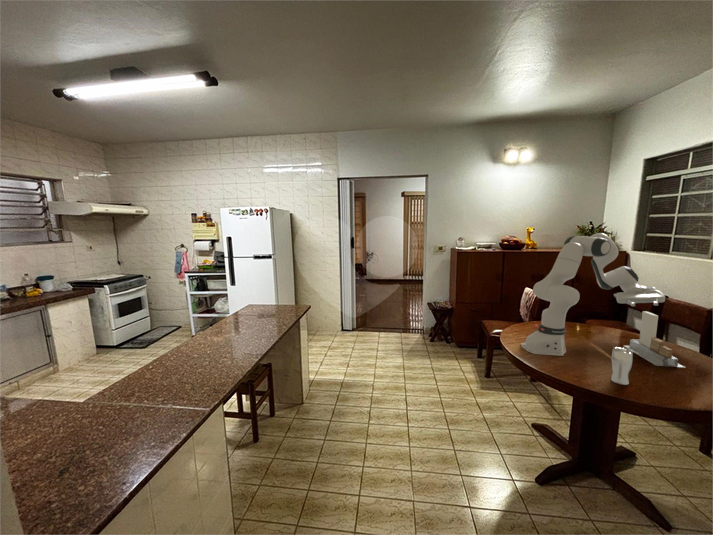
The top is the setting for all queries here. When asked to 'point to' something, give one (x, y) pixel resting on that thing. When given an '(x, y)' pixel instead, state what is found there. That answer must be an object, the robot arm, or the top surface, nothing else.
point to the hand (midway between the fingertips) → (644, 304)
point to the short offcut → (665, 351)
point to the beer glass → (621, 365)
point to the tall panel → (648, 328)
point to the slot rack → (652, 355)
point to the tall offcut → (656, 344)
